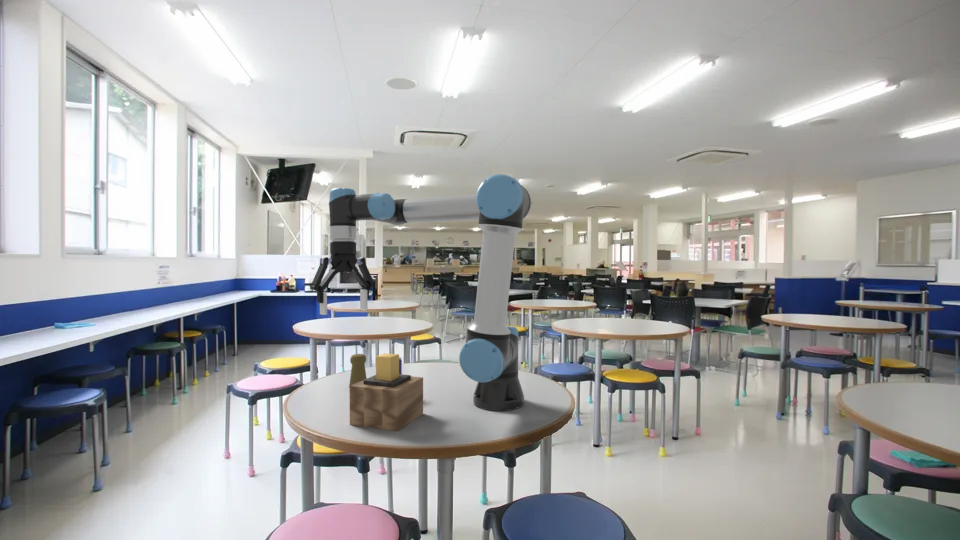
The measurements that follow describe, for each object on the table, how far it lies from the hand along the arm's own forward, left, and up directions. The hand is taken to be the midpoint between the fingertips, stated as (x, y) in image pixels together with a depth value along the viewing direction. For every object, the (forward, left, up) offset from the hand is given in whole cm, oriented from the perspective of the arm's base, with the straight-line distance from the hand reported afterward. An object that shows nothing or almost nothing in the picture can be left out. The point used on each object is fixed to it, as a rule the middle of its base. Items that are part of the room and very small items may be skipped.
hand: (344, 312), depth 131 cm
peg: (-19, +8, -19) cm, 28 cm away
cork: (+7, -16, -27) cm, 32 cm away
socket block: (-19, +8, -27) cm, 34 cm away
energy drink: (-10, -10, -27) cm, 31 cm away
